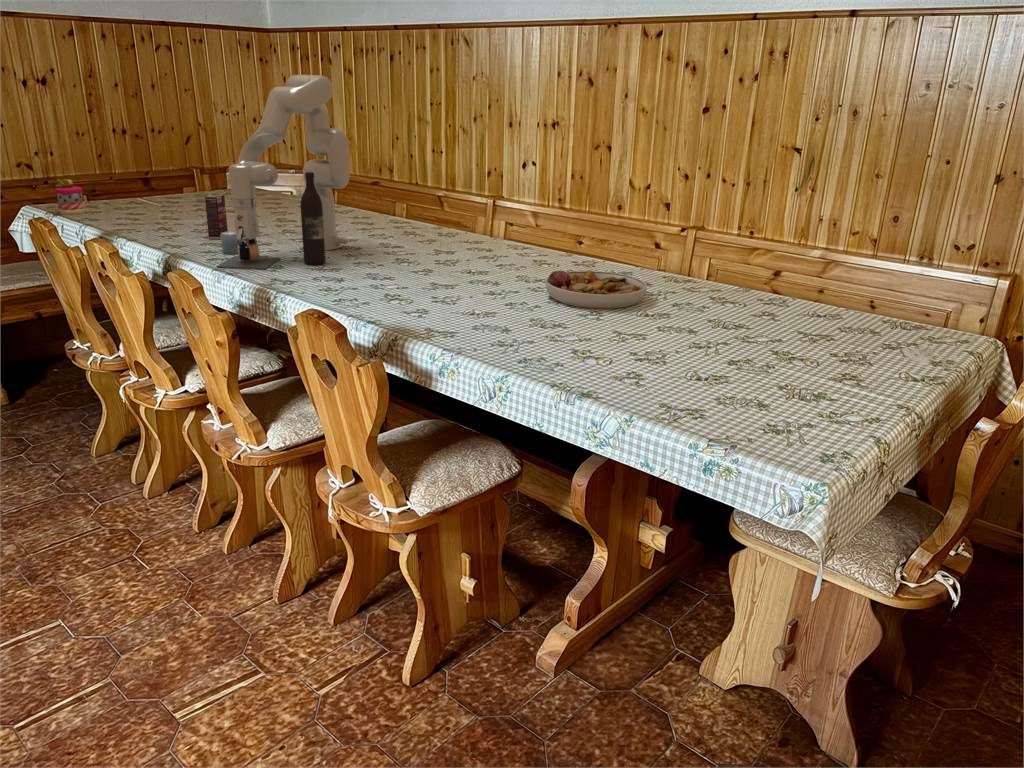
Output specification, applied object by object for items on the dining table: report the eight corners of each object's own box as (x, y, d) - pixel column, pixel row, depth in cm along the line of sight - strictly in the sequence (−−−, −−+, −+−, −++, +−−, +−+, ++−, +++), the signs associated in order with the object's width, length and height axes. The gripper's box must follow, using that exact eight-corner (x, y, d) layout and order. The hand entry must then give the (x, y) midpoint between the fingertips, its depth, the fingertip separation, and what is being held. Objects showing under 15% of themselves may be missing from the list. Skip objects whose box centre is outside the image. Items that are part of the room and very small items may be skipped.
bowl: (635, 287, 250) (637, 262, 247) (654, 313, 222) (657, 286, 219) (541, 285, 249) (542, 260, 246) (548, 311, 221) (550, 283, 218)
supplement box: (220, 239, 301) (216, 197, 295) (208, 239, 301) (203, 196, 295) (229, 235, 309) (224, 194, 303) (216, 235, 309) (212, 193, 303)
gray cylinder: (243, 251, 282) (241, 231, 279) (236, 254, 276) (235, 234, 274) (226, 250, 282) (224, 231, 279) (220, 254, 276) (217, 234, 274)
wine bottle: (304, 265, 263) (298, 173, 252) (303, 261, 269) (298, 171, 259) (326, 265, 265) (321, 173, 254) (325, 260, 271) (320, 171, 261)
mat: (280, 259, 271) (280, 257, 271) (265, 269, 256) (265, 267, 256) (234, 257, 272) (234, 256, 271) (216, 267, 257) (216, 266, 256)
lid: (262, 255, 266) (260, 243, 265) (255, 259, 260) (254, 247, 259) (242, 254, 266) (241, 242, 265) (235, 258, 260) (234, 246, 259)
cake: (61, 211, 349) (55, 177, 343) (88, 211, 352) (82, 176, 346) (56, 215, 339) (50, 179, 334) (83, 215, 342) (78, 179, 337)
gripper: (246, 207, 249) (251, 263, 255) (264, 200, 265) (268, 253, 271) (222, 206, 249) (228, 262, 255) (242, 199, 265) (247, 252, 271)
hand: (249, 257), depth 263 cm, fingers closed on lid, 6 cm apart
